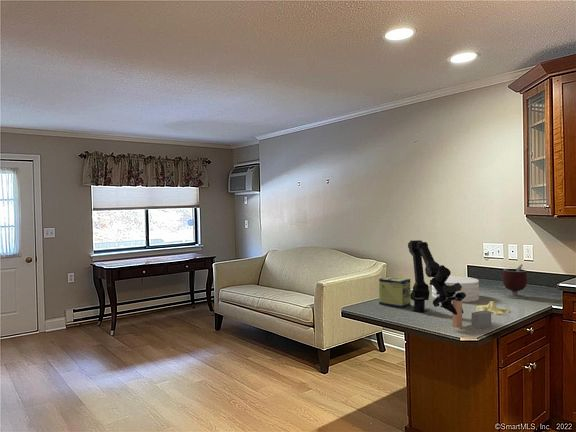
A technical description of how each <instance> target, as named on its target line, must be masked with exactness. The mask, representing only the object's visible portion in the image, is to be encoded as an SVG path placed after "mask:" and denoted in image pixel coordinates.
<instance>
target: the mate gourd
mask: <svg viewBox="0 0 576 432" xmlns="http://www.w3.org/2000/svg"><path fill="white" fill-rule="evenodd" d="M522 267H523V264H520V265H518V267H517V268H504V269H503V271H502V284H503V286H504V287H505V288H506V289H507V290H510V291H511V293H504V295H503V297H505V298H508V299H515V300H523V299H526V295H524V294H519V293H518V292H520V291H522V290H524V289H525V288H526V286H527V284H528V273H527V270H526V269H523V268H522Z"/></svg>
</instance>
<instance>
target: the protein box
mask: <svg viewBox="0 0 576 432" xmlns="http://www.w3.org/2000/svg"><path fill="white" fill-rule="evenodd" d="M378 282H379V284H378V286H379V287H378V288H379V289H378V292H379V293H378V294H379V295H378V297H379V299H378V305H381V304H382V306H387V307H388V306H389V307H392V308H399V309H404V308H407V307H408V306H411V303H412V302H411V297H410V295H411V279H410V278H402V277H394V276H386V277H381V278H379V280H378Z"/></svg>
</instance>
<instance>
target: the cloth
mask: <svg viewBox="0 0 576 432" xmlns="http://www.w3.org/2000/svg"><path fill="white" fill-rule="evenodd" d="M484 310H486V311H489V312H491V314H493V315H496V316H506V314H507V313H510V309H508V308H505V307H497V304H496V301H493V300H491V301H489V302H488V304H487V303H486V304H483V305H477V306H476V309H475V311H476V312H479V311H484ZM505 313H506V314H505Z"/></svg>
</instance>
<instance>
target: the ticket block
mask: <svg viewBox="0 0 576 432" xmlns="http://www.w3.org/2000/svg"><path fill="white" fill-rule="evenodd" d="M491 326H492V313H491V312H489V311H486V310H484V311H480V310H478V311H476V312H471V323H469V324H466V325H462V326H460V327H457V329H458V330H460V329H465V328H469V327H471V328H472V329H473V328H474V329H476V330H480V329H484V328H487V327H491Z"/></svg>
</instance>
